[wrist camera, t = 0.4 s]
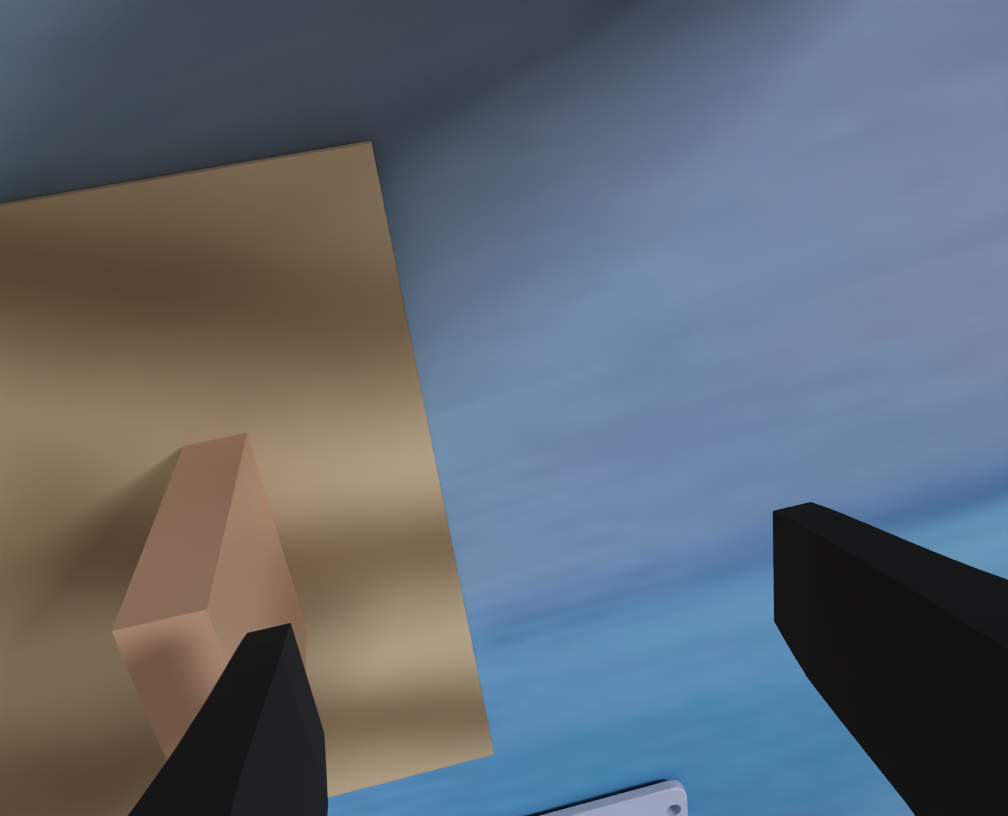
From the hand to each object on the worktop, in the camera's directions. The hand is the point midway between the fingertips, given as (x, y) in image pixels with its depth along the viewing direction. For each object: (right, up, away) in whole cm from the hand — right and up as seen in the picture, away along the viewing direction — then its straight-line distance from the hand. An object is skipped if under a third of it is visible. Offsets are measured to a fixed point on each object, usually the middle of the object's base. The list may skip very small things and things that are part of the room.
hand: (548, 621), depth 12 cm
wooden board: (-10, -1, +9) cm, 13 cm away
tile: (-7, 0, +9) cm, 11 cm away
